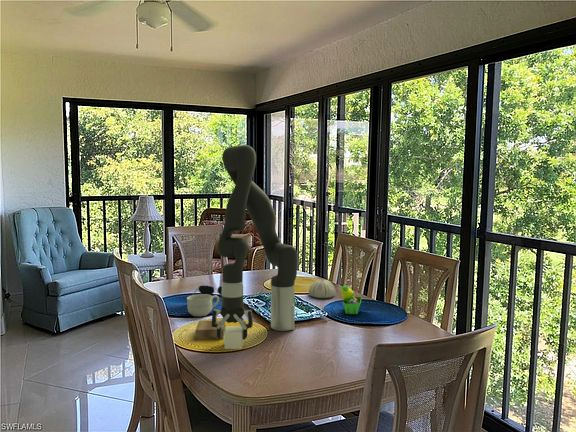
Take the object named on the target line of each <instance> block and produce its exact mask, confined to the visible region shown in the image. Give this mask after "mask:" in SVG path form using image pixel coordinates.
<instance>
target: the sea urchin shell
mask: <svg viewBox="0 0 576 432" xmlns="http://www.w3.org/2000/svg"><path fill="white" fill-rule="evenodd" d="M336 292H337V291H336V287H335V286H334V285H333V283H332V282H330V281H329V280H327V279H317V280H315V281H314V282H313V283H312V284H311V285H310V286H309V288H308V294H309V296H310V297H313V298H317V299H328V298H329V299H330V298H332V297H334V296H335V294H336Z"/></svg>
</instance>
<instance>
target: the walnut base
mask: <svg viewBox="0 0 576 432" xmlns="http://www.w3.org/2000/svg"><path fill="white" fill-rule="evenodd" d="M221 320H222V319H221ZM221 320H220V319H219V320H216V323H218V324H219V322H220V321H221ZM221 327H222V338H221V339H219V337H217V328H216V327H212V320H199V321H198V322H197V325H196V328H195V340H223V339H224V332H225V329H226V321H225V322H224V324H223V325H222V326H221Z"/></svg>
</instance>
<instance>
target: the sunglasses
mask: <svg viewBox="0 0 576 432" xmlns="http://www.w3.org/2000/svg"><path fill="white" fill-rule="evenodd" d="M197 291H199V293H200V294H208V295H212V294H214V293H215V288H214V286H211V285H206V284H205V285H204V284H203V285H199V286H198V287H197V288H196V290H195V291H194V293H193V294H192V295H196V294H195V293H196V292H197ZM221 291H222V285H221V286H220V285H219V286H218V287H217V293H218V295H222V294H221Z"/></svg>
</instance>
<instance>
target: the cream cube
mask: <svg viewBox="0 0 576 432" xmlns="http://www.w3.org/2000/svg"><path fill="white" fill-rule="evenodd" d="M223 339H224V350H230V349H231V350H233V349H234V350H242V349H243V345H244V340H243V327H242V326H241V325H240V326H237V325H236V326H233V325H232V326H231V325H230V326H228V325H227V326H225V332H224V338H223Z"/></svg>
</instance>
